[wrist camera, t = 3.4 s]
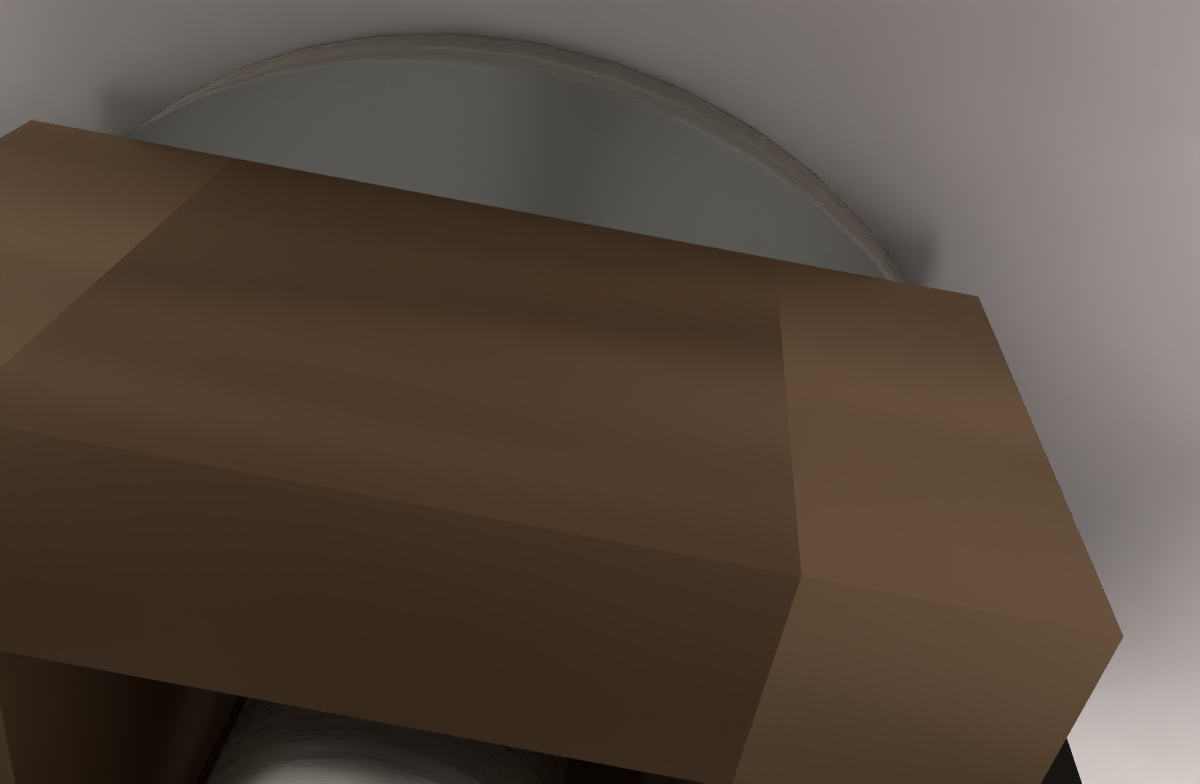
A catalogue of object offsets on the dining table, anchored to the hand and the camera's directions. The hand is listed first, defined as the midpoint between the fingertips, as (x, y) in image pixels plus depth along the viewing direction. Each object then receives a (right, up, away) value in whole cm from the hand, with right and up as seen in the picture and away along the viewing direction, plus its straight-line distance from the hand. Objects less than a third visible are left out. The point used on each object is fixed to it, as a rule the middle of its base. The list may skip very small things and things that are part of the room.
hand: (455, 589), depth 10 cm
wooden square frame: (0, 0, 0) cm, 0 cm away
